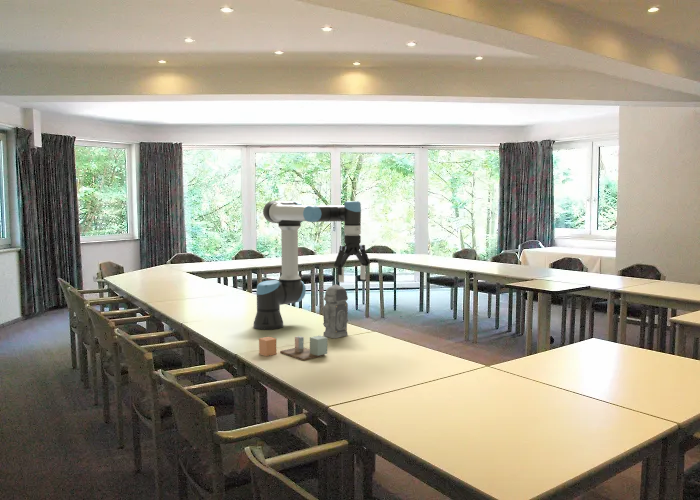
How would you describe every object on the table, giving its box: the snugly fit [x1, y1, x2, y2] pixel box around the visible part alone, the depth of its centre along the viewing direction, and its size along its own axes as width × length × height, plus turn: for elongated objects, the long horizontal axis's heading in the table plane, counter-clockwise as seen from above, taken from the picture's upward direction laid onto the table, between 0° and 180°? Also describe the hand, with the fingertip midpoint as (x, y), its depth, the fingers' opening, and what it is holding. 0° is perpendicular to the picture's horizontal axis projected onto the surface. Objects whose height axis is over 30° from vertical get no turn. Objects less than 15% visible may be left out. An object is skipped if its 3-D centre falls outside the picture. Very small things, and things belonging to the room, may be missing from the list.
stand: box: [279, 347, 325, 362], centre depth 234 cm, size 16×11×1 cm
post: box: [294, 335, 305, 353], centre depth 236 cm, size 3×3×6 cm
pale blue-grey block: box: [309, 335, 328, 356], centre depth 232 cm, size 5×5×7 cm
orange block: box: [258, 336, 277, 357], centre depth 234 cm, size 5×5×7 cm
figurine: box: [322, 283, 349, 339], centre depth 267 cm, size 10×14×25 cm
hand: (352, 280), depth 257 cm, fingers open, 13 cm apart
